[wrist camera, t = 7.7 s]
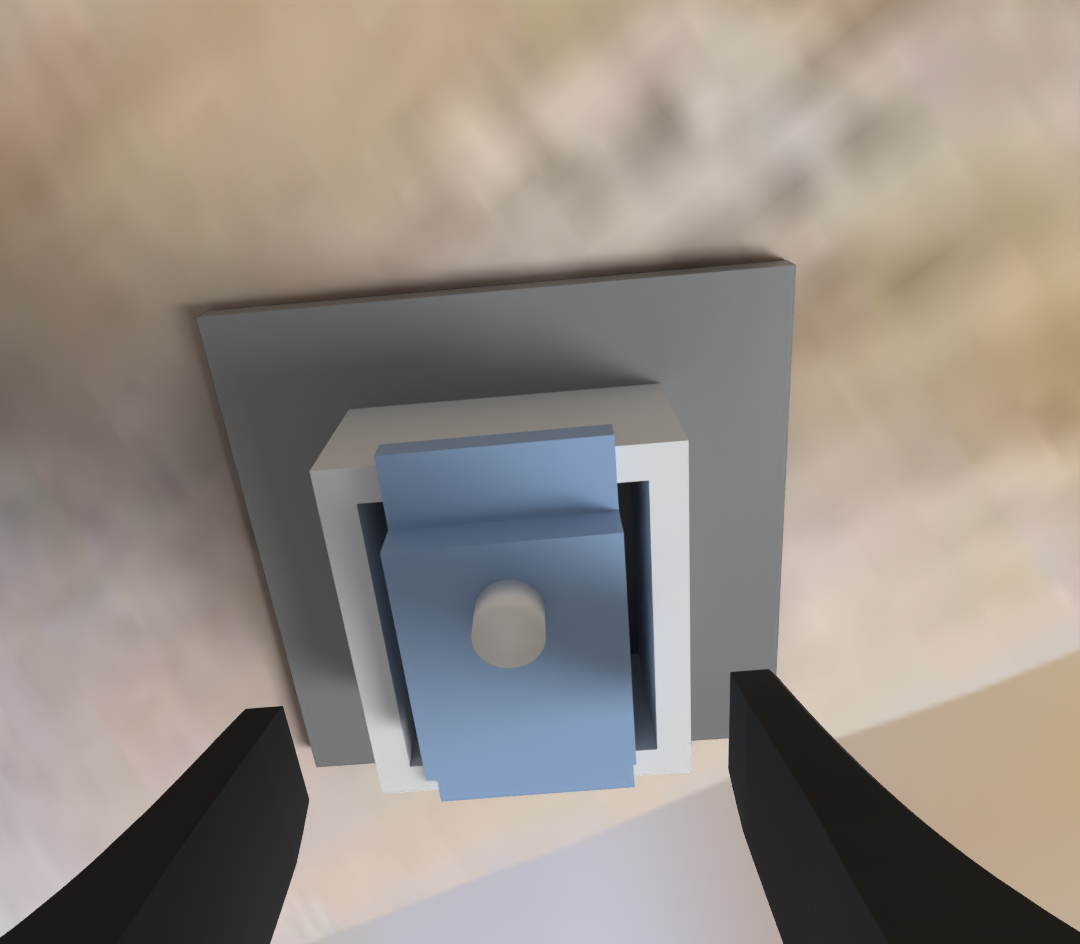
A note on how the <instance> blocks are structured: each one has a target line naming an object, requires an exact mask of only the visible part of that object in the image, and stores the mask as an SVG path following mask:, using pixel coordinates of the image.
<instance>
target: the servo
mask: <svg viewBox="0 0 1080 944" xmlns="http://www.w3.org/2000/svg"><path fill="white" fill-rule="evenodd" d="M374 459H375V465H376V470H377V475H378V480H379V485H380V490H381V495H382V500H383V506H384V511H385V516H386V521H387V526H388V532H387V535H386V538H385V541H384V544H383V546H382V549H381V552H380V556H381V561H382V565H383V570H384V575H385V580H386V585H387V590H388V595H389V600H390V605H391V610H392V615H393V620H394V625H395V629H396V634H397V639H398V644H399V649H400V654H401V659H402V664H403V669H404V674H405V679H406V684H407V688H408V693H409V698H410V703H411V708H412V713H413V718H414V723H415V728H416V733H417V738H418V743H419V748H420V752H421V757H422V762H423V767H424V772H425V777H426V781H430V780H437V782H438V787H439V792H440V797H441V801H454V800H468V799H481V798H494V797H508V796H521V795H535V794H548V793H561V792H575V791H588V790H602V789H615V788H629V787H635V785H634V767H633V765H636V748H635V730H634V711H633V693H632V675H631V657H630V639H629V621H628V603H627V585H626V567H625V549H624V532H623V528H622V523H621V518H620V514H619V506H618V489H617V471H616V454H615V436H614V431H613V427H612V424H606V425H595V426H583V427H572V428H561V429H550V430H538V431H527V432H516V433H505V434H494V435H482V436H471V437H460V438H449V439H437V440H426V441H415V442H404V443H392V444H381V445H379V446H378V448H377V450H376V453H375V455H374Z"/></svg>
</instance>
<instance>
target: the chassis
mask: <svg viewBox="0 0 1080 944" xmlns="http://www.w3.org/2000/svg"><path fill="white" fill-rule="evenodd" d="M795 274H796V265H795V264H793V263H791V262H790V261H788V260H781V261H769V262H758V263H747V264H735V265H724V266H712V267H701V268H690V269H678V270H667V271H655V272H644V273H633V274H621V275H610V276H598V277H587V278H576V279H564V280H553V281H541V282H530V283H519V284H507V285H496V286H484V287H473V288H462V289H450V290H439V291H427V292H416V293H405V294H393V295H382V296H370V297H359V298H348V299H336V300H325V301H313V302H302V303H291V304H279V305H268V306H256V307H245V308H234V309H222V310H211V311H206V312H204V313H203V314H201V315H199V316H197V317H196V320H197V324H198V328H199V331H200V335H201V339H202V342H203V346H204V350H205V354H206V357H207V361H208V365H209V369H210V372H211V376H212V380H213V383H214V387H215V391H216V395H217V398H218V402H219V406H220V410H221V413H222V417H223V421H224V424H225V428H226V432H227V436H228V439H229V443H230V447H231V451H232V454H233V458H234V462H235V466H236V469H237V473H238V477H239V480H240V484H241V488H242V492H243V495H244V499H245V503H246V507H247V510H248V514H249V518H250V521H251V525H252V529H253V533H254V536H255V540H256V544H257V548H258V551H259V555H260V559H261V563H262V566H263V570H264V574H265V577H266V581H267V585H268V589H269V592H270V596H271V600H272V604H273V607H274V611H275V615H276V618H277V622H278V626H279V630H280V633H281V637H282V641H283V645H284V648H285V652H286V656H287V659H288V663H289V667H290V671H291V674H292V678H293V682H294V686H295V689H296V693H297V697H298V701H299V704H300V708H301V712H302V715H303V719H304V723H305V727H306V730H307V734H308V738H309V742H310V745H311V749H312V753H313V756H314V760H315V764H316V767H327V766H341V765H355V764H369V763H376V768H377V772H378V776H379V781H380V785H381V790H382V794H386V793H400V792H415V791H429V790H439V787H438V782H437V780H430V781H426V777H425V772H424V767H423V762H422V757H421V752H420V748H419V743H418V738H417V733H416V728H415V723H414V718H413V713H412V708H411V703H410V698H409V693H408V688H407V684H406V679H405V674H404V669H403V664H402V659H401V654H400V649H399V644H398V639H397V634H396V629H395V625H394V620H393V615H392V610H391V605H390V600H389V595H388V590H387V585H386V580H385V575H384V570H383V565H382V561H381V556H380V552H381V549H382V546H383V544H384V541H385V538H386V535H387V532H388V526H387V521H386V516H385V511H384V506H383V500H382V495H381V490H380V485H379V480H378V475H377V470H376V465H375V459H374V455H375V453H376V450H377V448H378V446H379V445H381V444H392V443H404V442H415V441H426V440H437V439H449V438H460V437H471V436H482V435H494V434H505V433H516V432H527V431H538V430H550V429H561V428H572V427H583V426H595V425H606V424H612V427H613V431H614V436H615V454H616V471H617V489H618V506H619V514H620V518H621V523H622V528H623V532H624V549H625V567H626V585H627V603H628V621H629V639H630V657H631V675H632V693H633V711H634V730H635V748H636V765H633V767H634V776H645V775H659V774H673V773H688V772H691V741H694V740H709V739H723V738H729V712H730V672H736V671H749V670H762V669H769V670H771V671H772V672H773V673H774V674H775V675H776V668H777V648H778V627H779V606H780V585H781V565H782V544H783V523H784V502H785V481H786V461H787V440H788V419H789V398H790V378H791V357H792V336H793V315H794V295H795Z"/></svg>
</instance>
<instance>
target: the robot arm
mask: <svg viewBox="0 0 1080 944" xmlns="http://www.w3.org/2000/svg"><path fill="white" fill-rule="evenodd" d="M728 769H729V774H730V778H731V782H732V787H733V791H734V795H735V800H736V804H737V808H738V812H739V816H740V820H741V824H742V828H743V832H744V835H745V838H746V841H747V844H748V846H749V849H750V852H751V855H752V858H753V861H754V863H755V866H756V869H757V872H758V875H759V877H760V880H761V883H762V886H763V889H764V891H765V894H766V897H767V900H768V902H769V905H770V908H771V911H772V914H773V916H774V919H775V922H776V925H777V927H778V930H779V933H780V935H781V938H782V941H783V944H1080V932H1079V931H1077V930H1076V929H1074V928H1073V927H1071V926H1069V925H1068V924H1066V923H1064V922H1063V921H1061V920H1060V919H1058V918H1057V917H1055V916H1053V915H1052V914H1050V913H1048V912H1047V911H1046V910H1044V909H1042V908H1041V907H1040V906H1038V905H1037V904H1035V903H1034V902H1032V901H1031V900H1029V899H1028V898H1026V897H1025V896H1023V895H1022V894H1020V893H1019V892H1017V891H1016V890H1014V889H1013V888H1011V887H1010V886H1008V885H1007V884H1005V883H1004V882H1002V881H1001V880H999V879H998V878H996V877H995V876H993V875H992V874H991V873H989V872H988V871H987V870H985V869H984V868H982V867H981V866H980V865H978V864H977V863H975V862H974V861H973V860H971V859H970V858H969V857H967V856H966V855H965V854H963V853H962V852H961V851H960V850H958V849H957V848H956V847H954V846H953V845H952V844H951V843H949V842H948V841H947V840H945V839H944V838H943V837H942V836H940V835H939V834H938V833H937V832H935V831H934V830H933V829H932V828H931V827H929V826H928V825H927V824H926V823H924V822H923V821H922V820H921V819H920V818H919V817H917V816H916V815H915V814H914V813H913V812H911V811H910V810H909V809H908V808H907V807H906V806H905V805H903V804H902V803H901V802H900V801H899V800H898V799H896V797H895V796H893V795H892V794H891V793H890V792H889V791H887V789H886V788H884V787H883V786H882V785H881V784H880V783H879V782H878V781H877V780H876V779H875V778H874V777H872V775H870V774H869V773H868V772H867V771H866V770H865V769H864V768H863V767H862V766H861V765H860V764H859V763H858V762H857V761H856V760H855V759H854V758H853V757H852V756H851V755H850V754H849V753H848V752H847V751H846V750H845V749H844V748H843V747H842V746H841V745H840V744H839V743H838V742H837V741H836V740H835V739H834V738H833V737H832V736H831V735H830V734H829V733H828V732H827V731H826V730H825V729H824V728H823V727H822V726H821V725H820V724H819V722H818V721H817V720H816V719H815V718H814V717H813V716H812V715H811V714H810V713H809V712H808V711H807V710H806V709H805V707H804V706H803V705H802V704H801V703H800V702H799V701H798V700H797V699H796V697H795V696H794V695H793V694H792V693H791V692H790V691H789V690H788V688H787V687H786V686H785V685H784V684H783V683H782V682H781V681H780V679H779V678H778V677H777V676H776V675H775V674H774V673H773V672H772V671H771V670H769V669H762V670H749V671H736V672H730V712H729V766H728ZM308 804H309V797H308V794H307V790H306V787H305V783H304V780H303V776H302V772H301V769H300V765H299V762H298V758H297V755H296V751H295V747H294V744H293V740H292V737H291V733H290V730H289V726H288V722H287V719H286V715H285V712H284V708H283V706H278V707H265V708H252V709H245V710H244V711H243V712H242V713H241V714H240V715H239V716H238V717H237V718H236V719H235V720H234V721H233V722H232V723H231V724H230V725H229V726H228V727H227V728H226V730H225V731H224V732H223V733H222V734H221V735H220V736H219V737H218V738H217V739H216V740H215V741H214V742H213V743H212V744H211V745H210V746H209V747H208V748H207V750H206V751H205V752H204V753H203V754H202V755H201V756H200V757H199V758H198V759H197V760H196V761H195V762H194V763H193V764H192V765H191V766H190V767H189V768H188V769H187V770H186V771H185V772H184V773H183V774H182V776H181V777H180V778H179V779H178V780H177V781H176V782H175V783H174V784H173V785H172V786H171V787H170V788H169V789H168V790H167V791H166V792H165V793H164V794H163V795H162V796H161V797H160V798H159V799H158V800H157V801H156V802H155V803H154V804H153V805H152V806H151V807H150V808H149V809H148V810H147V811H146V812H145V813H144V814H143V815H142V816H141V817H140V818H139V819H137V820H136V821H135V822H134V823H133V824H132V825H131V826H130V827H129V828H128V829H127V830H126V831H125V832H124V833H123V834H122V835H121V836H119V837H118V838H117V839H116V840H115V841H114V842H113V843H112V844H111V845H110V846H109V847H108V848H107V849H106V850H105V851H104V852H103V853H101V854H100V855H99V856H98V857H97V858H96V859H95V860H94V861H93V862H92V863H91V864H90V865H88V866H87V867H86V868H85V869H84V870H83V871H82V872H81V873H79V874H78V875H77V876H76V877H75V878H74V879H72V880H71V881H70V882H69V883H68V884H67V885H65V886H64V887H63V888H62V889H61V890H60V891H58V892H57V893H56V894H55V895H53V896H52V897H51V898H50V899H49V900H47V901H46V902H45V903H44V904H42V905H41V906H40V907H39V908H38V909H36V910H35V911H34V912H33V913H31V914H30V915H29V916H28V917H27V918H25V919H24V920H23V921H21V922H20V923H19V924H18V925H16V926H15V927H14V928H13V929H11V930H10V931H9V932H7V933H6V934H4V935H3V936H2V937H0V944H270V942H271V939H272V936H273V933H274V930H275V927H276V924H277V921H278V918H279V915H280V912H281V909H282V906H283V903H284V900H285V897H286V894H287V891H288V888H289V885H290V882H291V879H292V876H293V872H294V869H295V866H296V863H297V858H298V854H299V849H300V844H301V840H302V835H303V830H304V825H305V819H306V814H307V809H308Z"/></svg>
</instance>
